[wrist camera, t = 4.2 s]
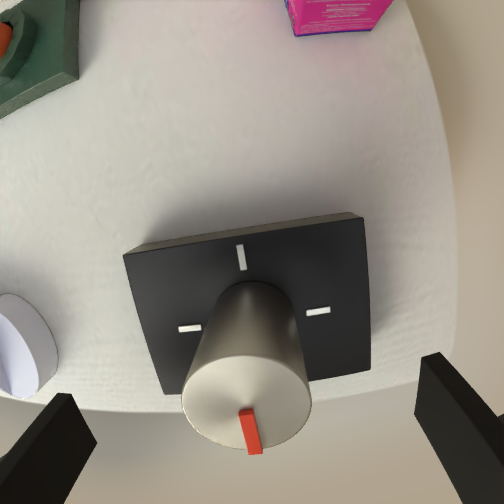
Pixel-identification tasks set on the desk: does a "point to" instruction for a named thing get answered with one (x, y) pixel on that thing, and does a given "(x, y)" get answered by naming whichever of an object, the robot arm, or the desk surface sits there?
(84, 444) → the robot arm
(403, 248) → the desk surface
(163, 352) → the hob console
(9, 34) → the timer button
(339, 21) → the supplement box
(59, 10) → the green button base
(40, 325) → the wedge on round base
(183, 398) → the hob knob
